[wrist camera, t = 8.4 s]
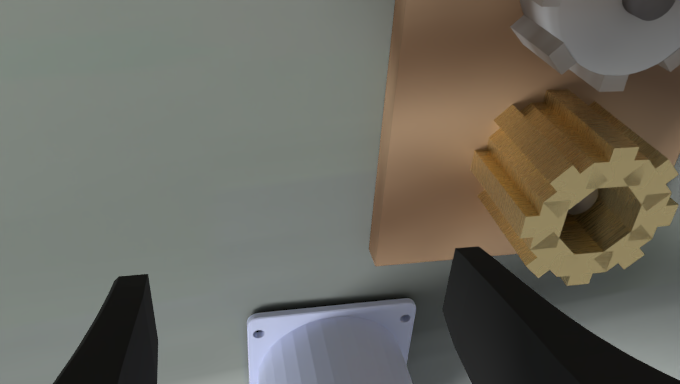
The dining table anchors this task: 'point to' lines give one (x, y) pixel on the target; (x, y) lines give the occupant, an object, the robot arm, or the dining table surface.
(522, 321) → the robot arm
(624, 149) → the brass gear
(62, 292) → the dining table surface
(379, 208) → the gear board
